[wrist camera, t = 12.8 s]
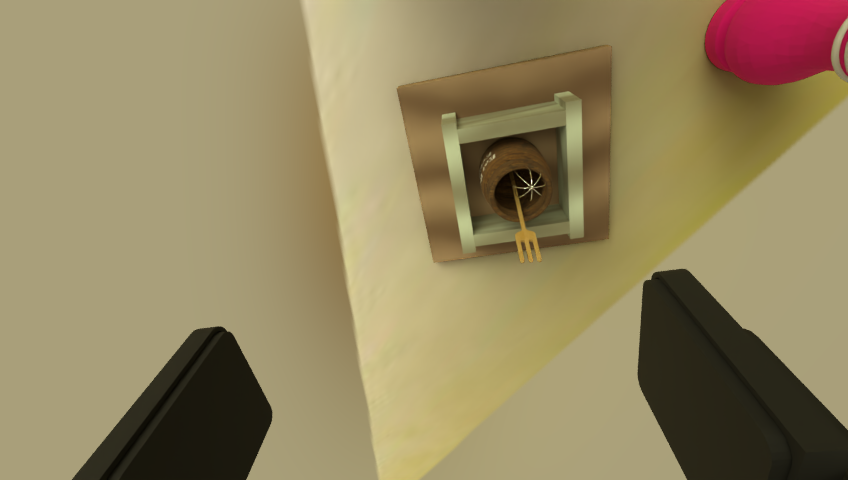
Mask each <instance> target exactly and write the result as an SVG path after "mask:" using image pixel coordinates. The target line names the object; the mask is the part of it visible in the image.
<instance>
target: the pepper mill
mask: <svg viewBox="0 0 848 480" xmlns="http://www.w3.org/2000/svg"><path fill="white" fill-rule="evenodd" d="M705 49H706V53H707V56H708V58H709V59H710V61H711V62H712V63H713V64H714V65H715V66H716V67H717V68H719V69H722V70H725V71H729V72H733V73H734V74H735V75H736V76H738V77H739V78H740V79H742V80H744V81H746V82H749V83H753V84H761V85H779V84H785V83H791V82H795V81H798V80H802V79H805V78H808V77H810V76H813V75H815V74H818V73H820V72H823V71H826V70H829V71H835V72H836V74H837V75H838V76H839V77H840V78H841V79H843V80H844V81H846V82H848V0H727V1H725V2H724V3H723V4H722V5H721V7H720V8H719V9H718V10H717V11H716V13H715V14H714V16H713V17H712V19H711V21H710V24H709V26H708V29H707V32H706V37H705Z"/></svg>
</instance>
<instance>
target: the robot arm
mask: <svg viewBox="0 0 848 480" xmlns="http://www.w3.org/2000/svg"><path fill="white" fill-rule="evenodd" d="M640 328H641V329H640V343H639V344H640V345H639V359H638V361H639V362H638V380H639V385H640V387H641V390H642V392H643V394H644V396H645V398H646V400H647V402H648V404H649V406H650V408H651V410H652V412H653V413H654V416H655V418H656V420H657V422H658V424H659V425H660V427H661V429H662V431H663V433H664V435H665V437H666V439H667V441H668V443H669V445H670V447H671V449H672V451H673V452H674V454H675V457H676V459H677V461H678V463H679V464H680V466H681V468H682V470H683V472H684V474H685V476H686V478H687V480H848V430H847V429H846V428H845V427H844V426H843V425H842V424H841V423H840V422H839V421H838V420H837V419H836V418H835V416H834V415H833V414H832V413H831V412H830V411H829V410H828V409H827V408H826V407H825V406H824V405H823V404H822V403H821V402H820V401H819V400H818V399H817V398H816V397H815V396H814V395H813V394H812V393H811V392H810V390H809V389H808V388H807V387H806V386H805V385H804V384H803V383H802V382H801V381H800V380H799V379H798V378H797V377H796V376H795V375H794V374H793V373H792V372H791V371H790V370H789V369H788V368H787V367H786V366H785V364H784V363H783V362H782V361H781V360H780V359H779V358H778V357H777V356H776V355H775V354H774V353H773V352H772V351H771V350H770V349H769V348H768V347H767V346H766V345H765V344H764V343H763V342H762V341H761V340H760V339H759V337H757V336H756V335H755V334H754V333H752V332H751V331H749V330H746V329H743V328H742V327H741V326H740V325H739V324H738V323H737V322H736V321H735V320H734V319H733V318H732V317H731V315H730V314H729V313H728V312H727V311H726V310H725V309H724V308H723V307H722V306H721V305H720V304H719V303H718V302H717V301H716V299H715V298H714V297H713V296H712V295H711V294H710V293H709V292H708V291H707V290H706V289H705V288H704V287H703V286H702V285H701V283H700V282H699V281H698V280H697V279H696V278H695V277H694V276H693V275H692V274H691V273H690V272H689V271H688V270H686V269H677V270H669V271H661V272H655V273H653V275H652V279H651V280H646V281H645V282H644V284H643V296H642V311H641V327H640ZM271 421H272V409H271V406H270V404H269V403H268V401H267V399H266V397H265V395H264V393H263V391H262V389H261V387H260V385H259V383H258V381H257V379H256V378H255V376H254V374H253V372H252V370H251V368H250V366H249V364H248V362H247V360H246V359H245V357H244V355H243V353H242V351H241V349H240V347H239V345H238V343H237V341H236V339H235V337H234V336H233V334H232V333H230V332H227V331H226V329H225V328H223V327H210V328H202V329H197V330H195V331H193V332H192V334H190V336H189V337H188V338H187V339H186V340H185V342H184V343H183V344H182V345H181V347H180V348H179V349H178V350H177V352H176V353H175V354H174V355H173V356H172V358H171V359H170V360H169V361H168V363H167V364H166V365H165V366H164V368H163V369H162V370H161V371H160V372H159V374H158V375H157V376H156V377H155V378H154V380H153V381H152V382H151V383H150V385H149V386H148V387H147V388H146V389H145V391H144V392H143V393H142V395H141V396H140V397H139V398H138V399H137V401H136V402H135V403H134V404H133V405H132V407H131V408H130V409H129V410H128V412H127V413H126V414H125V415H124V417H123V418H122V419H121V420H120V421H119V423H118V424H117V425H116V426H115V427H114V429H113V430H112V431H111V432H110V434H109V435H108V436H107V437H106V439H105V440H104V441H103V442H102V444H101V445H100V446H99V447H98V448H97V449H96V451H95V452H94V453H93V454H92V456H91V457H90V458H89V459H88V461H87V462H86V463H85V464H84V465H83V467H82V468H81V469H80V470H79V472H78V473H77V474H76V475H75V477H74V478H73V479H72V480H246V479H247V477H248V474H249V472H250V470H251V467H252V465H253V463H254V461H255V458H256V456H257V454H258V452H259V449H260V447H261V445H262V443H263V440H264V438H265V436H266V433H267V431H268V429H269V427H270V424H271Z"/></svg>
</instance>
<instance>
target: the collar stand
mask: <svg viewBox="0 0 848 480" xmlns="http://www.w3.org/2000/svg"><path fill="white" fill-rule="evenodd" d="M611 56H612V46H608V45H603V46H598V47H593V48H588V49H583V50H578V51H573V52H568V53H563V54H558V55H553V56H548V57H543V58H538V59H533V60H528V61H523V62H518V63H513V64H508V65H503V66H498V67H493V68H488V69H483V70H478V71H472V72H467V73H462V74H457V75H452V76H447V77H442V78H437V79H432V80H427V81H422V82H417V83H412V84H407V85H402V86H398V88H397V92H398V97H399V101H400V106H401V111H402V115H403V120H404V125H405V130H406V134H407V139H408V144H409V148H410V153H411V158H412V163H413V167H414V172H415V177H416V181H417V186H418V191H419V196H420V200H421V205H422V210H423V214H424V219H425V224H426V229H427V233H428V238H429V243H430V247H431V252H432V257H433V261H434V263H435V262H442V261H450V260H457V259H464V258H472V257H479V256H486V255H494V254H501V253H508V252H516V251H518V248H517V244H516V239H515V234H516V233H517V232H519V231H521V230H522V229H521V225H520V222H511V221H508V220H505V219H503V218H501V217H500V216H499V215H497V214H496V213H495V212H494V210H493V209H492V208H491V206H490V204H489V203H488V202H487V200H486V199H485V197H484V195H483V192H482V189H481V184H480V178H479V165H480V161H481V158H482V156H483V154H484V152H485V151H486V150H487V148H488V147H489V146H491V145H492V144H493V143H495V142H496V141H498V140H500V139H503V138H508V137H518V138H522V139H525V140H527V141H529V142H531V143H532V144H533V145H534V146H535V147H536V148H537V149H538V150H539V151H540V153H541V154H542V156H543V157H544V159H545V160H546V162H547V164H548V166H549V168H550V172H551V180H552V185H553V194H552V199H551V201H550V203H549V205H548V207H547V208H546V209H545V211H544V212H543V213H542V214H540V215H539V216H538V217H536V218H534V219H532V220H529V221H525V227H526V229H527V230H529V231H533V232H535V234H536V238H537V242H538V246H539V248H545V247H552V246H559V245H567V244H574V243H581V242H589V241H596V240H603V239H609V187H610V121H611ZM529 244H530V248H531V249H534V245H533V242H529ZM521 246H522V251H523V250H526V247H525V243H524V242H521Z"/></svg>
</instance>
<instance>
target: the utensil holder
mask: <svg viewBox="0 0 848 480" xmlns="http://www.w3.org/2000/svg"><path fill="white" fill-rule="evenodd" d="M479 178H480V184H481V189H482V192H483V195H484V197H485V199H486V200H487V202H488V203H489V204H490V206H491V208H492V209H493V210H494V212H495V213H496V214H497V215H499V216H500V217H501V218H503V219H505V220H508V221H511V222H520V225H521V229H522V230H521V231H519V232H517V233H516V234H515V239H516V244H517V248H518V253H519V258H520V262H521V263H524V262H525V261H524V256H523V251H522V246H521V242H524V243H525V247H526V251H527V255H528V260H529V262H533V257H532V253H531V248H530V244H529V242H533V245H534V249H535V253H536V257H537V261H538V262H541V261H542V259H541V255H540V250H539V246H538V242H537V238H536V234H535V232H533V231H529V230H527V229H526V227H525V221H529V220H532V219H534V218H536V217H538V216H539V215H540V214H542V213H543V212H544V211H545V209H546V208H547V207H548V205H549V203H550V201H551V199H552V194H553V185H552V180H551V172H550V168H549V166H548V164H547V162H546V160H545V159H544V157H543V156H542V154H541V153H540V151H539V150H538V149H537V148H536V147H535V146H534V145H533V144H532V143H531V142H529V141H527V140H525V139H522V138H518V137H508V138H503V139H500V140H498V141H496V142H495V143H493V144H492V145H491V146H489V147H488V148H487V150H486V151H485V152H484V154H483V156H482V158H481V161H480V165H479Z"/></svg>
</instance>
